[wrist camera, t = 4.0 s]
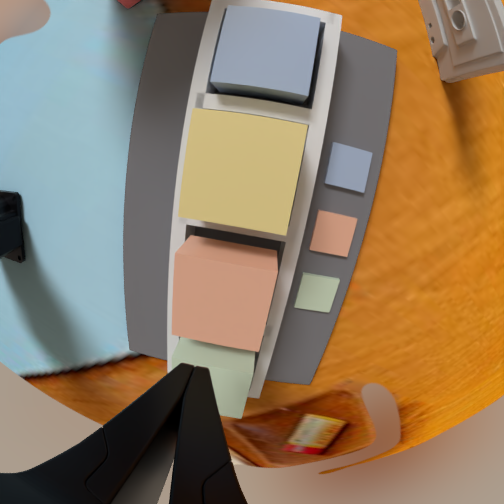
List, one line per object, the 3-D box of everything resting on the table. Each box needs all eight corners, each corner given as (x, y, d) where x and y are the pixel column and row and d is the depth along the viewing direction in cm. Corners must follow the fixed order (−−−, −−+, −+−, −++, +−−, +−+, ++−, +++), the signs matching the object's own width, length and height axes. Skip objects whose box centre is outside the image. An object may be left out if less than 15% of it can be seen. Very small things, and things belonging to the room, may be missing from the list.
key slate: (219, 92, 13) (210, 81, 11) (234, 25, 12) (228, 5, 9) (301, 105, 13) (308, 96, 11) (313, 37, 12) (320, 18, 9)
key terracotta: (185, 307, 16) (171, 334, 13) (190, 235, 14) (174, 252, 12) (260, 322, 16) (258, 351, 13) (276, 250, 14) (278, 272, 12)
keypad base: (133, 344, 21) (119, 366, 19) (161, 18, 13) (144, 0, 10) (308, 378, 21) (311, 404, 19) (392, 53, 13) (412, 40, 10)
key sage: (182, 377, 18) (172, 404, 15) (183, 329, 16) (171, 357, 14) (244, 389, 18) (241, 418, 15) (255, 343, 16) (253, 373, 14)
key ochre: (194, 204, 14) (177, 216, 11) (207, 115, 12) (192, 108, 10) (283, 220, 14) (286, 235, 11) (300, 130, 12) (307, 125, 10)
